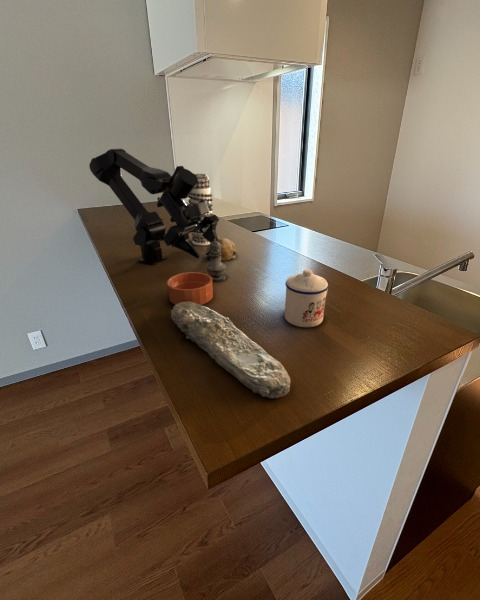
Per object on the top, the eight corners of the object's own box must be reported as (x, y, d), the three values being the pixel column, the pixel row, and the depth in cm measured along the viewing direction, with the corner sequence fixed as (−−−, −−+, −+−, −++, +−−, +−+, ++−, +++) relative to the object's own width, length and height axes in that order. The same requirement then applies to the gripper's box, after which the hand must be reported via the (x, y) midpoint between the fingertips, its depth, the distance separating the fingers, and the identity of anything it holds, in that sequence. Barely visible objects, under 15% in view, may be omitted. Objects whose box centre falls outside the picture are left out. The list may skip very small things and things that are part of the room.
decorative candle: (186, 242, 125) (180, 174, 114) (203, 237, 131) (199, 172, 120) (202, 247, 120) (197, 176, 108) (219, 241, 126) (216, 174, 114)
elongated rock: (259, 420, 48) (303, 393, 54) (262, 394, 46) (308, 369, 52) (159, 317, 72) (197, 306, 78) (157, 297, 70) (197, 287, 75)
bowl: (160, 301, 81) (157, 283, 78) (189, 285, 89) (187, 269, 87) (194, 313, 75) (192, 294, 73) (221, 294, 84) (220, 277, 81)
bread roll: (227, 271, 107) (237, 251, 103) (200, 257, 107) (208, 237, 103) (233, 261, 116) (242, 242, 112) (208, 248, 115) (216, 229, 111)
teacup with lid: (305, 333, 67) (310, 283, 62) (275, 316, 73) (277, 269, 68) (339, 315, 74) (347, 268, 68) (309, 301, 80) (313, 257, 75)
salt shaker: (206, 282, 91) (203, 241, 86) (207, 274, 96) (204, 235, 91) (226, 281, 91) (225, 241, 86) (226, 273, 97) (225, 235, 91)
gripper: (165, 195, 80) (202, 245, 79) (212, 186, 93) (244, 228, 93) (148, 222, 87) (181, 268, 87) (194, 210, 101) (223, 249, 100)
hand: (209, 252), depth 91 cm, fingers open, 9 cm apart
